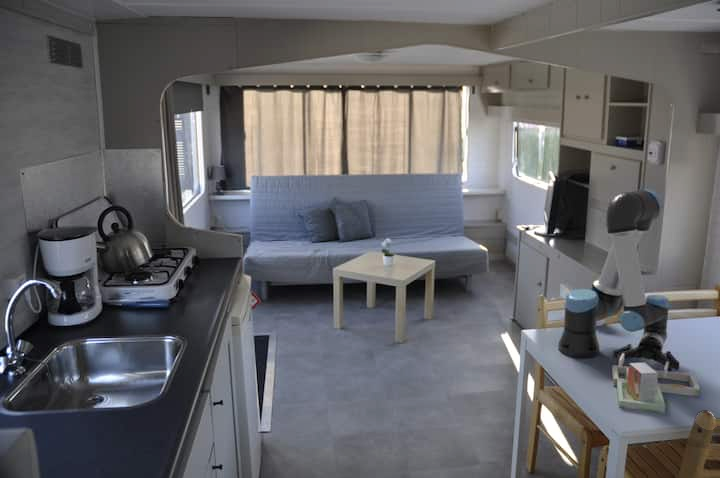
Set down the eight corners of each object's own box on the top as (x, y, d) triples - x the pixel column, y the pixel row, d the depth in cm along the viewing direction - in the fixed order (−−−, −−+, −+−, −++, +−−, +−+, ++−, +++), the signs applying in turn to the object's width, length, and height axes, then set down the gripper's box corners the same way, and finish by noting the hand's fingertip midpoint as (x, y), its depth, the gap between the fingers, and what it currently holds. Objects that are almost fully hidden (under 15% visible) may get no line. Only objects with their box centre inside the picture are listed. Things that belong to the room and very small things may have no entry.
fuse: (626, 384, 207) (627, 375, 206) (625, 375, 213) (625, 366, 213) (641, 386, 205) (641, 377, 205) (639, 377, 212) (640, 368, 211)
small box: (626, 392, 200) (628, 362, 197) (642, 391, 200) (645, 361, 198) (638, 404, 192) (641, 373, 190) (655, 403, 192) (658, 372, 190)
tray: (619, 407, 192) (619, 400, 191) (616, 386, 205) (617, 380, 205) (664, 413, 187) (665, 406, 187) (659, 392, 201) (659, 385, 200)
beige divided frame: (613, 385, 206) (614, 378, 205) (612, 371, 217) (612, 364, 216) (699, 396, 197) (700, 388, 197) (693, 381, 208) (694, 373, 208)
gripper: (689, 363, 209) (683, 387, 192) (612, 349, 222) (601, 370, 205) (691, 342, 208) (686, 365, 190) (614, 330, 221) (602, 350, 203)
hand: (642, 368), depth 198 cm, fingers open, 13 cm apart
